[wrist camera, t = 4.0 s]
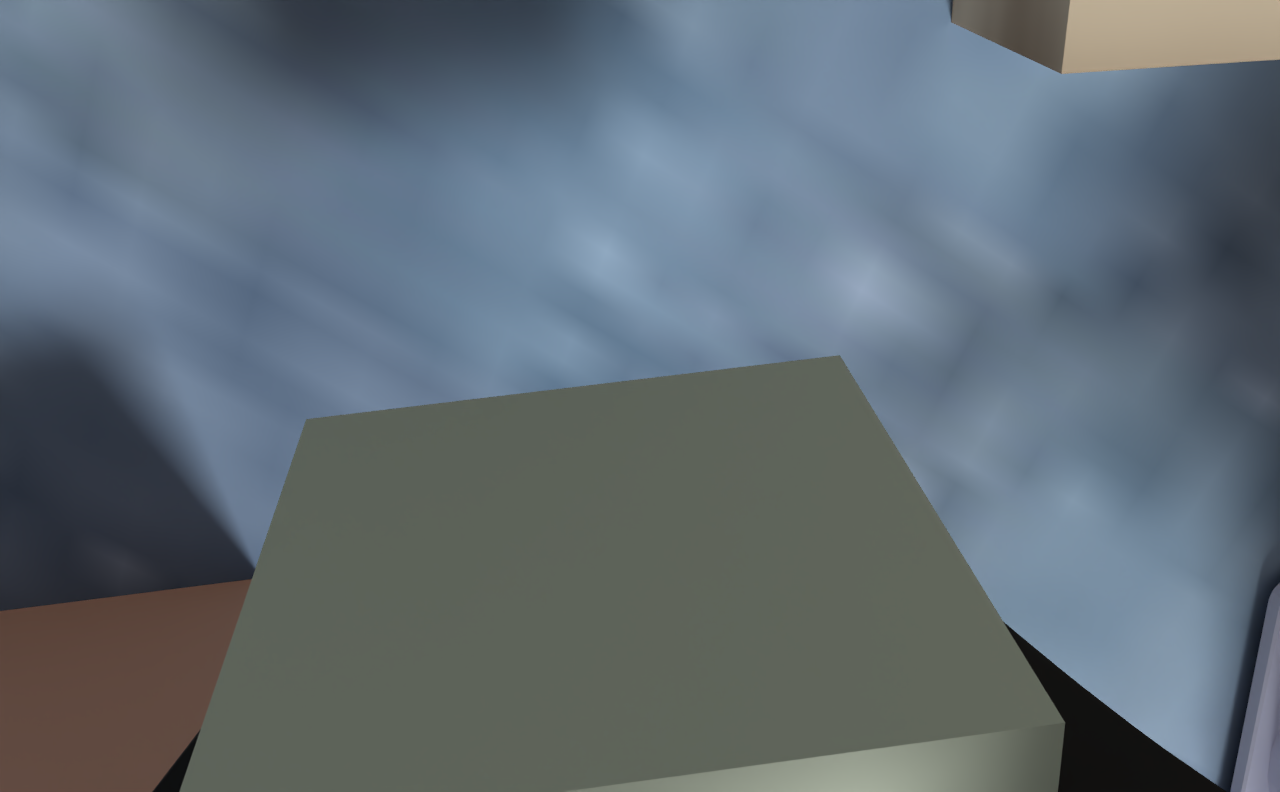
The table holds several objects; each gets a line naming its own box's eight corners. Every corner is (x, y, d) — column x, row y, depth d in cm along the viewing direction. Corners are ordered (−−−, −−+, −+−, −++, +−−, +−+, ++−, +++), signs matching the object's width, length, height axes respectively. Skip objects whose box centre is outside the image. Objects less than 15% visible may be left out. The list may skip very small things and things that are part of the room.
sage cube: (843, 752, 13) (1011, 1227, 9) (402, 813, 13) (344, 1335, 8) (839, 354, 11) (1064, 722, 7) (305, 418, 11) (160, 847, 6)
